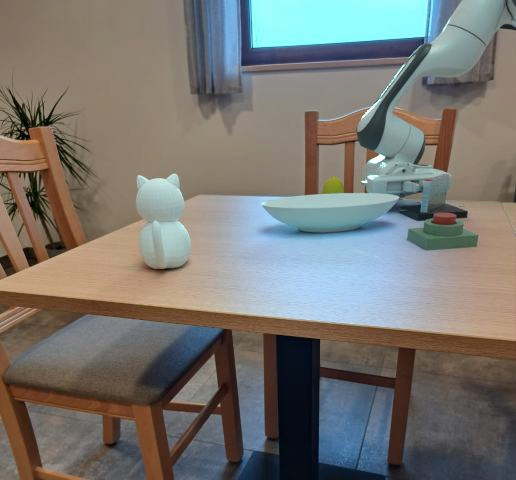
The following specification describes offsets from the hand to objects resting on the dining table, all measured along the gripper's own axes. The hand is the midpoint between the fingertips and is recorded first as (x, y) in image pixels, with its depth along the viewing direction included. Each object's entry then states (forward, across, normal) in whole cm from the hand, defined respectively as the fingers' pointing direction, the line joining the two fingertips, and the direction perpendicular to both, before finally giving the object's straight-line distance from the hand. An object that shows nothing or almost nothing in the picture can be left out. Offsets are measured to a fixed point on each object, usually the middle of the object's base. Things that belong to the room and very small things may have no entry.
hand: (422, 188), depth 106 cm
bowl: (+5, -23, +7) cm, 25 cm away
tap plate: (-1, +4, +6) cm, 8 cm away
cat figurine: (+23, -58, +7) cm, 63 cm away
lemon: (-16, -16, +7) cm, 24 cm away
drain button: (+22, -6, +3) cm, 23 cm away
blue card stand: (-1, +4, +5) cm, 6 cm away
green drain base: (+22, -6, +6) cm, 24 cm away
